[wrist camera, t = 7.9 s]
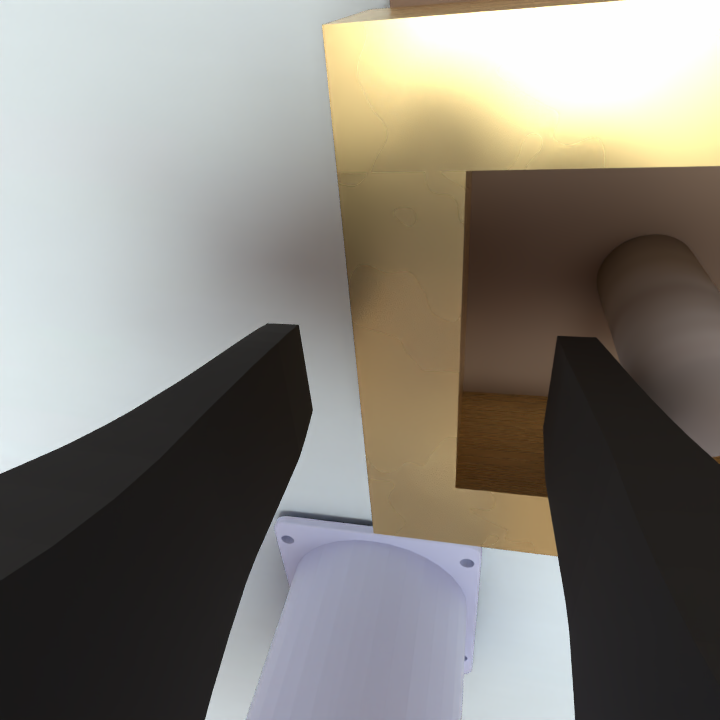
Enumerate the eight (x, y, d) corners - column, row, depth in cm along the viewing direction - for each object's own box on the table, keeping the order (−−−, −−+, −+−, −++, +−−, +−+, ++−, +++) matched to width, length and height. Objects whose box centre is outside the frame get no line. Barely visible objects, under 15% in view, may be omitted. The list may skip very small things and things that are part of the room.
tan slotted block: (810, 474, 14) (886, 597, 11) (394, 437, 16) (373, 533, 14) (1113, -54, 8) (1452, -66, 5) (370, 8, 10) (321, 24, 7)
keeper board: (789, 483, 16) (905, 687, 11) (412, 449, 18) (383, 607, 14) (1163, -195, 8) (2094, -422, 3) (394, -98, 10) (311, -151, 6)
